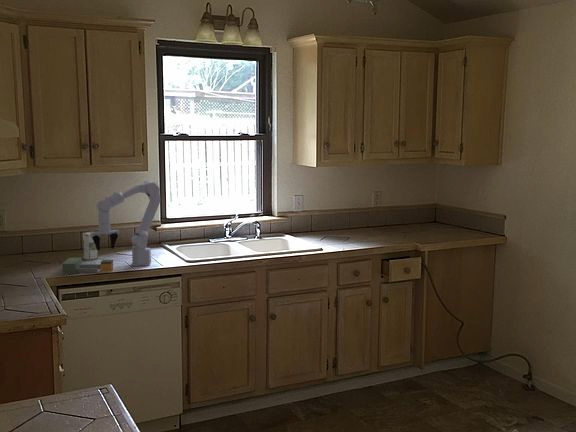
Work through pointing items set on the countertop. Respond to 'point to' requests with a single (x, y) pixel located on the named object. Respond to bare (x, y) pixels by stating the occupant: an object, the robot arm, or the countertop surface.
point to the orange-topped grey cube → (106, 265)
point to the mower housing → (78, 266)
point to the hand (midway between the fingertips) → (105, 249)
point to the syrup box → (89, 247)
